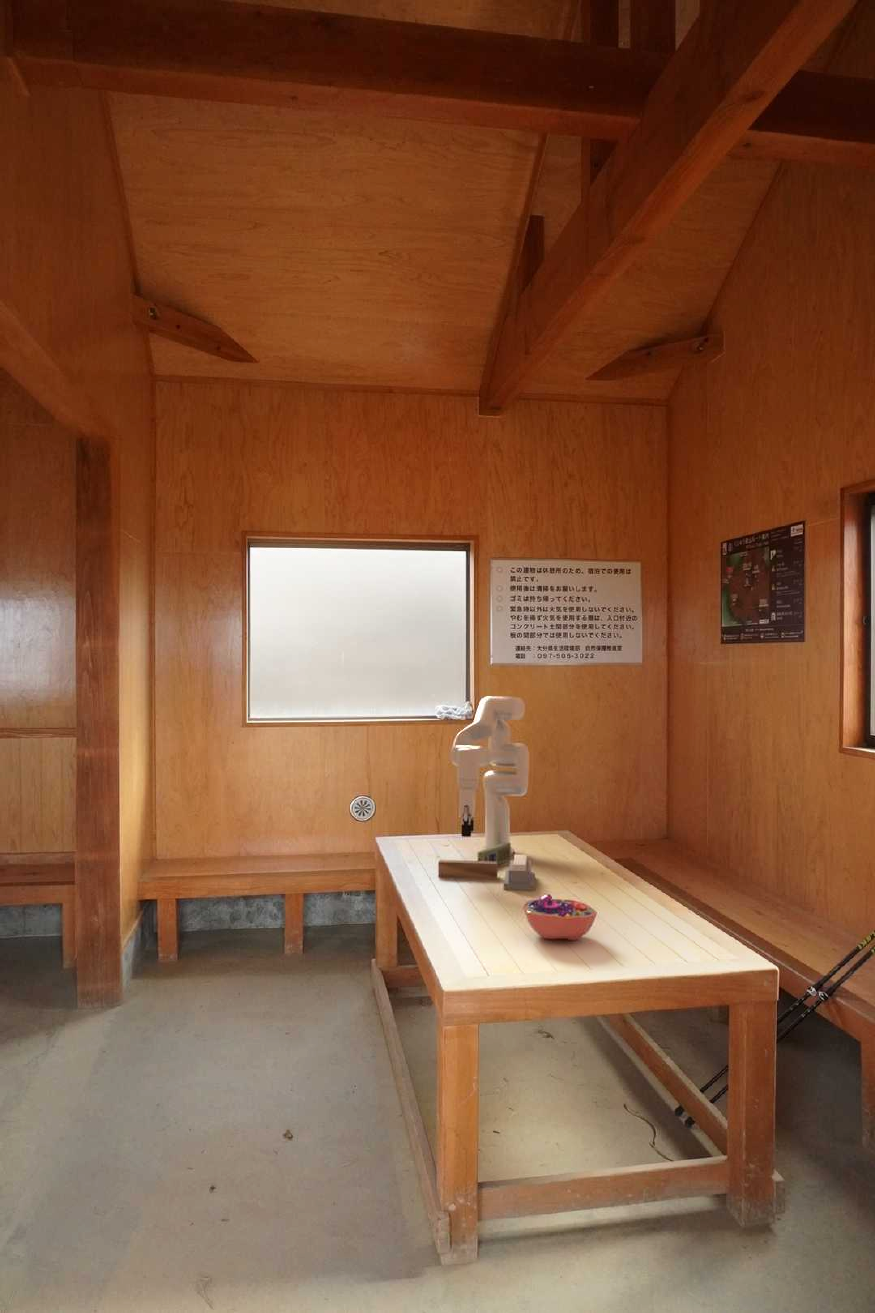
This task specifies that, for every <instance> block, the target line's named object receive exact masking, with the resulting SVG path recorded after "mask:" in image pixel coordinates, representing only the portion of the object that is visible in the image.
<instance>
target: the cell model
mask: <svg viewBox="0 0 875 1313" xmlns="http://www.w3.org/2000/svg"><path fill="white" fill-rule="evenodd" d="M522 909H523V910H524V913H525V916H526V919H527V920H526V921H527V922H528V924H529V925H530V926H531V928H532V930H533V931H535V933H537V934H538V935H539V936H540V937H541V938H543V939H545V940H561V939H562V940H569V941H576V940H579V939H581V938H582V937H583V936H585V935H586V934H587V933H588V932H589V931H590V930H591V928H592V926H593V924H594V922H595V920H596V917H597V914H598V911H596V910H595V909H594V908H593V907H592V906H590V905H588V904H586V903H584V902H580V901H577V900H575V899H574V900H573V899H561V898H559V899H558V898H553V897H552V895H551V894H549V893H548V894H544V895H542V896H540V897H539V899H532V900H528V901H526V902H525V903H524V904H523V905H522Z"/></svg>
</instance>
